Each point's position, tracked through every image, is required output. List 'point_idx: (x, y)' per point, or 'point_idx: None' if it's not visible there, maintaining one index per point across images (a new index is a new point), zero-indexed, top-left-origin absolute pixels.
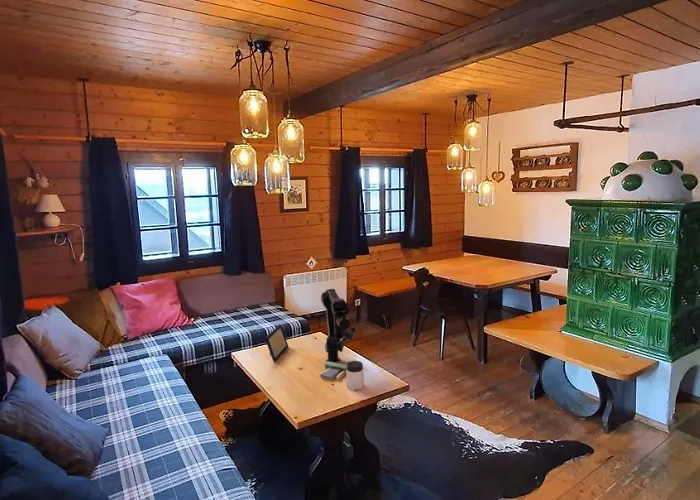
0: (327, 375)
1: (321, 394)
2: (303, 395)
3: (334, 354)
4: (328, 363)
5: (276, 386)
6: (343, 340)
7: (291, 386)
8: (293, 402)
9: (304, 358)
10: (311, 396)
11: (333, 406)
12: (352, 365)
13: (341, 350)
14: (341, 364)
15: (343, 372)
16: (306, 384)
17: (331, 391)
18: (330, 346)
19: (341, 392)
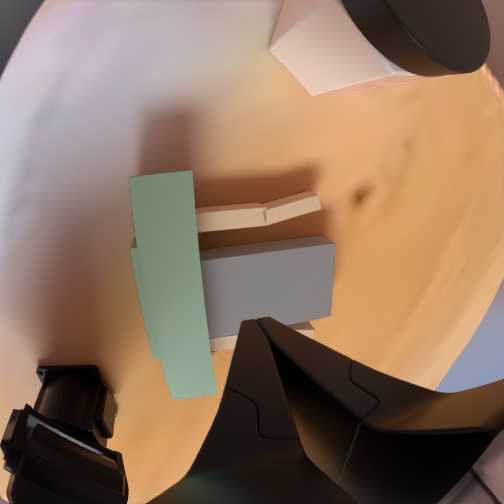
0: (324, 279)
1: (452, 189)
2: (467, 255)
3: (78, 413)
4: (197, 376)
5: (422, 383)
6: (482, 460)
7: (418, 349)
8: (498, 251)
9: (163, 478)
10: (469, 220)
11: (489, 93)
12: (467, 8)
13: (289, 327)
14: (152, 289)
15: (218, 211)
16: (395, 317)
17: (422, 157)
18: (111, 480)
19: (412, 99)
